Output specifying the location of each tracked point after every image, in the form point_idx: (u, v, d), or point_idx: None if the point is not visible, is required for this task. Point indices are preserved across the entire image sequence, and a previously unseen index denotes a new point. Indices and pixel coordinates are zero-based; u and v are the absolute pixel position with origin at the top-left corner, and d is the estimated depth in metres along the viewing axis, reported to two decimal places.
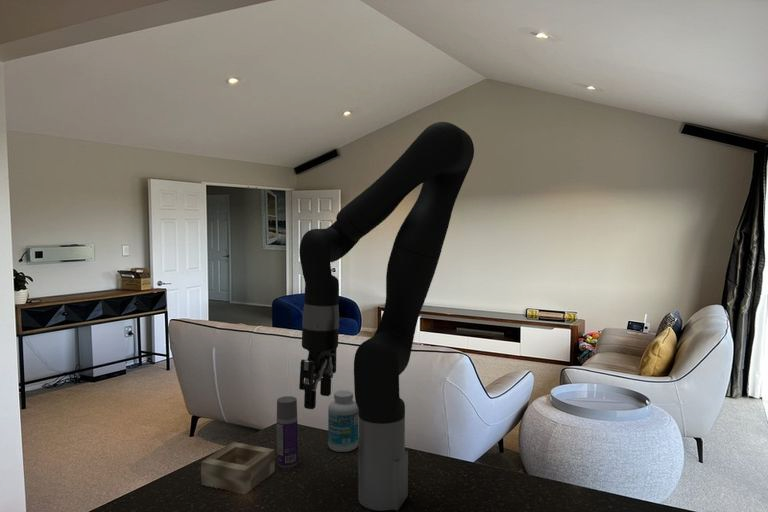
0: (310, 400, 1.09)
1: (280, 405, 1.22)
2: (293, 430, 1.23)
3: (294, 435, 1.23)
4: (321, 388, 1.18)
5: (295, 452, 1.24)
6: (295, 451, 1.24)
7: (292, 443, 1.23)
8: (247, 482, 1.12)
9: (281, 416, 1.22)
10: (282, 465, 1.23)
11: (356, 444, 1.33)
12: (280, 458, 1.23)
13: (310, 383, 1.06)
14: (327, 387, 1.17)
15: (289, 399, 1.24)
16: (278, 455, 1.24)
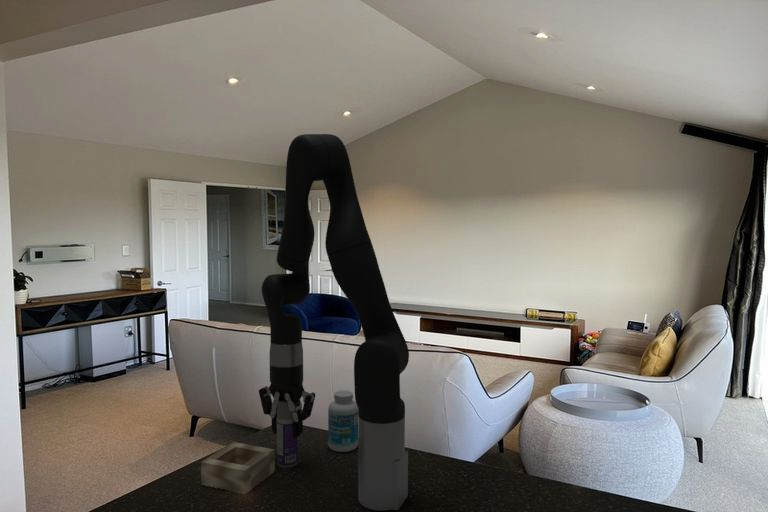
0: (302, 427, 1.24)
1: (280, 405, 1.22)
2: None
3: None
4: (276, 427, 1.25)
5: (295, 452, 1.24)
6: (295, 451, 1.24)
7: (292, 443, 1.23)
8: (247, 482, 1.12)
9: (281, 416, 1.22)
10: (282, 465, 1.23)
11: (356, 444, 1.33)
12: (280, 458, 1.23)
13: None
14: None
15: None
16: (278, 455, 1.24)
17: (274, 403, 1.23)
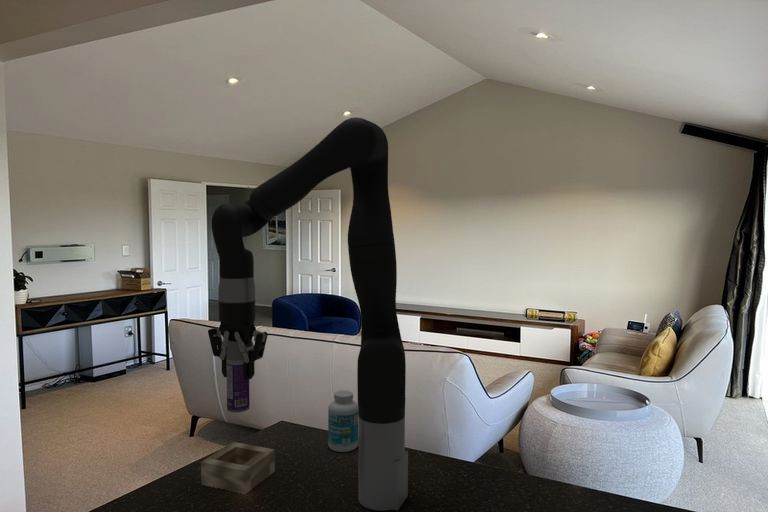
0: (253, 369, 1.16)
1: (229, 345, 1.14)
2: (243, 372, 1.15)
3: None
4: (226, 370, 1.16)
5: (246, 396, 1.16)
6: (246, 395, 1.16)
7: (242, 386, 1.15)
8: (247, 482, 1.12)
9: (230, 357, 1.14)
10: (232, 409, 1.15)
11: (356, 444, 1.33)
12: (230, 402, 1.15)
13: None
14: None
15: None
16: (228, 399, 1.15)
17: (224, 343, 1.15)
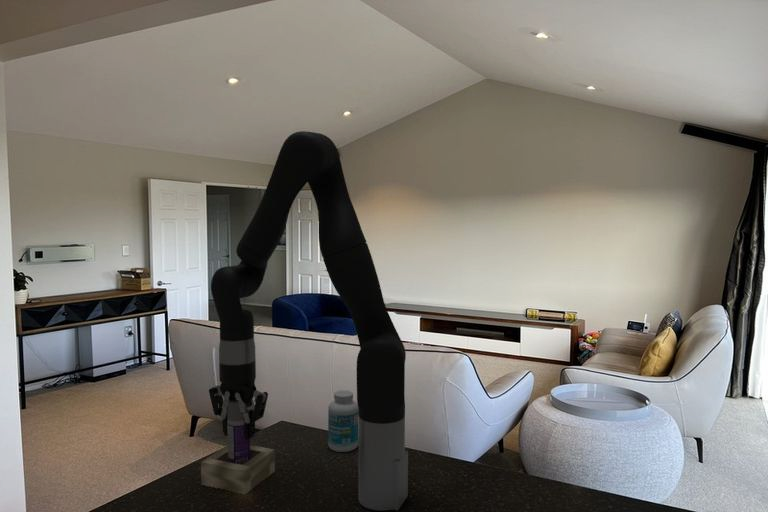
0: (254, 429, 1.16)
1: (230, 406, 1.15)
2: (244, 432, 1.16)
3: None
4: None
5: (247, 455, 1.17)
6: (247, 454, 1.17)
7: (243, 446, 1.16)
8: (247, 482, 1.12)
9: (231, 418, 1.15)
10: None
11: (356, 444, 1.33)
12: (231, 462, 1.16)
13: None
14: None
15: None
16: (229, 459, 1.16)
17: (224, 403, 1.16)
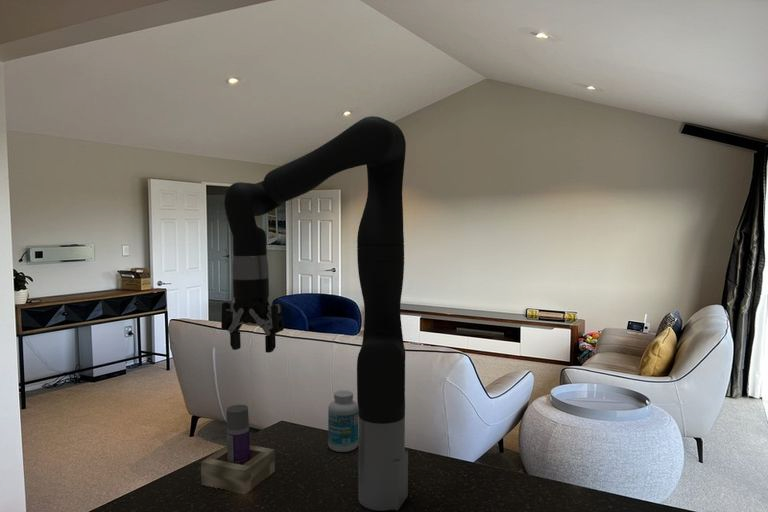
0: (274, 342, 1.17)
1: (229, 415, 1.15)
2: (244, 440, 1.16)
3: (245, 446, 1.16)
4: (235, 342, 1.19)
5: None
6: None
7: (243, 455, 1.16)
8: (247, 482, 1.12)
9: (230, 427, 1.15)
10: None
11: (356, 444, 1.33)
12: None
13: None
14: (238, 340, 1.20)
15: (239, 408, 1.17)
16: None
17: (236, 318, 1.17)
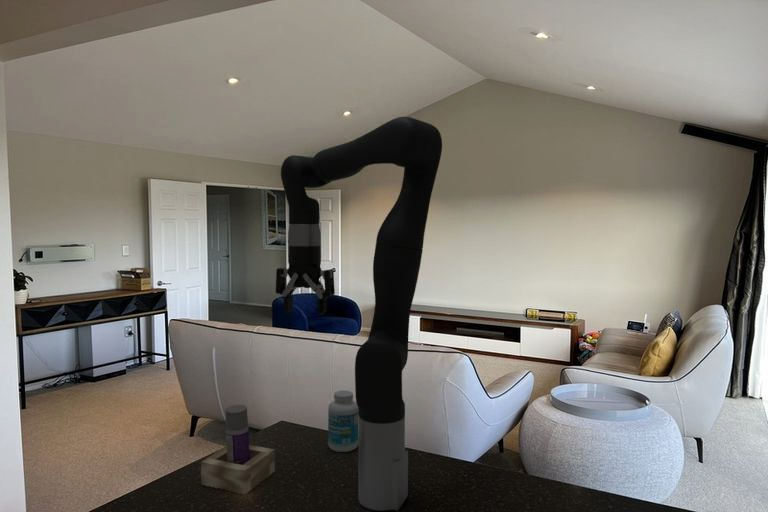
0: (326, 305, 1.25)
1: (228, 415, 1.15)
2: (243, 441, 1.16)
3: (245, 446, 1.16)
4: (288, 306, 1.27)
5: None
6: None
7: (243, 455, 1.16)
8: (247, 482, 1.12)
9: (230, 427, 1.15)
10: None
11: (356, 444, 1.33)
12: None
13: None
14: (291, 303, 1.29)
15: (238, 408, 1.16)
16: None
17: (290, 283, 1.26)
